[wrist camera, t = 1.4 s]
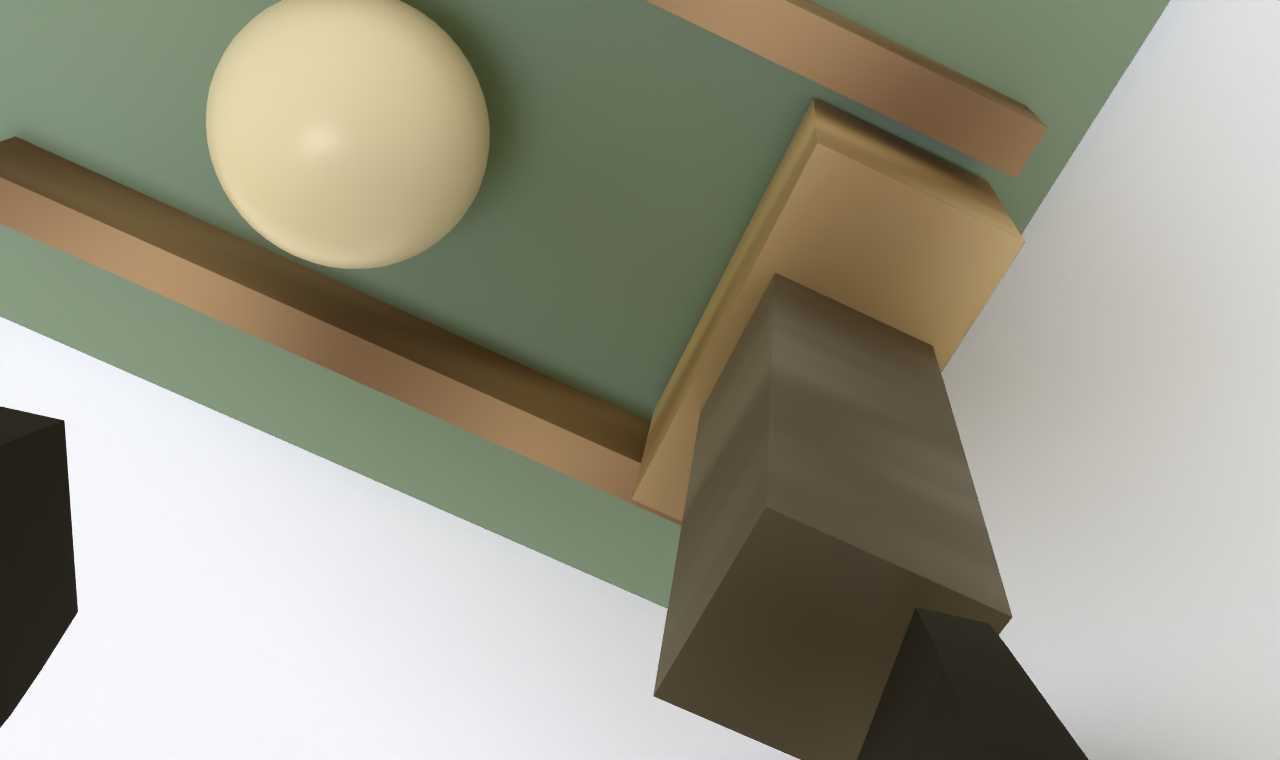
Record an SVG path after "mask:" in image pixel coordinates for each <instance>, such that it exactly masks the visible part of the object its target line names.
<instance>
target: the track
mask: <svg viewBox="0 0 1280 760" xmlns="http://www.w3.org/2000/svg"><path fill="white" fill-rule="evenodd" d="M646 1H648V2H650V3H652V4H654V5H656V6H658V7H660V8H662V9H664V10H666V11H669V12H671V13H673V14H675V15H677V16H679V17H681V18H683V19H685V20H687V21H689V22H691V23H694V24H696V25H698V26H700V27H702V28H704V29H706V30H708V31H710V32H712V33H714V34H716V35H719V36H721V37H723V38H725V39H727V40H729V41H731V42H733V43H735V44H737V45H739V46H741V47H744V48H746V49H748V50H750V51H752V52H754V53H756V54H758V55H760V56H762V57H764V58H766V59H769V60H771V61H773V62H775V63H777V64H779V65H781V66H783V67H785V68H787V69H789V70H791V71H794V72H796V73H798V74H800V75H802V76H804V77H806V78H808V79H810V80H812V81H814V82H816V83H819V84H821V85H823V86H825V87H827V88H829V89H831V90H833V91H835V92H837V93H839V94H841V95H844V96H846V97H848V98H850V99H852V100H854V101H856V102H858V103H860V104H862V105H864V106H867V107H869V108H871V109H873V110H875V111H877V112H879V113H881V114H883V115H885V116H887V117H889V118H892V119H894V120H896V121H898V122H900V123H902V124H904V125H906V126H908V127H910V128H912V129H914V130H917V131H919V132H921V133H923V134H925V135H927V136H929V137H931V138H933V139H935V140H937V141H939V142H942V143H944V144H946V145H948V146H950V147H952V148H954V149H956V150H958V151H960V152H962V153H964V154H967V155H969V156H971V157H973V158H975V159H977V160H979V161H981V162H983V163H985V164H987V165H989V166H992V167H994V168H996V169H998V170H1000V171H1002V172H1004V173H1006V174H1008V175H1010V176H1012V177H1014V178H1017V176H1018V175H1019V173H1020V172H1021V170H1022V168H1023V167H1024V165H1025V164H1026V162H1027V160H1028V159H1029V157H1030V155H1031V154H1032V152H1033V151H1034V149H1035V147H1036V146H1037V144H1038V143H1039V141H1040V139H1041V138H1042V136H1043V134H1044V133H1045V131H1046V130H1047V128H1048V127H1047V126H1046V125H1045V124H1044V123H1043V122H1042V121H1041V120H1040V119H1039V118H1038V117H1037V116H1036V115H1035V114H1034V113H1033V112H1032V111H1031V110H1030V109H1029V108H1028V107H1027V106H1026V105H1024V104H1022V103H1020V102H1018V101H1015V100H1013V99H1011V98H1009V97H1007V96H1005V95H1003V94H1001V93H999V92H997V91H995V90H993V89H991V88H989V87H987V86H985V85H983V84H980V83H978V82H976V81H974V80H972V79H970V78H968V77H966V76H964V75H962V74H960V73H958V72H956V71H954V70H952V69H950V68H948V67H945V66H943V65H941V64H939V63H937V62H935V61H933V60H931V59H929V58H927V57H925V56H923V55H921V54H919V53H917V52H915V51H912V50H910V49H908V48H906V47H904V46H902V45H900V44H898V43H896V42H894V41H892V40H890V39H888V38H886V37H884V36H882V35H880V34H877V33H875V32H873V31H871V30H869V29H867V28H865V27H863V26H861V25H859V24H857V23H855V22H853V21H851V20H849V19H847V18H844V17H842V16H840V15H838V14H836V13H834V12H832V11H830V10H828V9H826V8H824V7H822V6H820V5H818V4H816V3H814V2H812V1H809V0H646ZM0 224H3V225H5V226H7V227H9V228H12V229H14V230H16V231H18V232H21V233H23V234H25V235H27V236H30V237H32V238H34V239H36V240H39V241H41V242H43V243H46V244H48V245H50V246H52V247H55V248H57V249H59V250H61V251H64V252H66V253H68V254H70V255H73V256H75V257H77V258H79V259H82V260H84V261H86V262H88V263H91V264H93V265H95V266H97V267H100V268H102V269H104V270H106V271H109V272H111V273H113V274H115V275H118V276H120V277H122V278H124V279H127V280H129V281H131V282H133V283H136V284H138V285H140V286H142V287H145V288H147V289H149V290H151V291H154V292H156V293H158V294H160V295H163V296H165V297H167V298H169V299H172V300H174V301H176V302H178V303H181V304H183V305H185V306H187V307H190V308H192V309H194V310H196V311H199V312H201V313H203V314H205V315H208V316H210V317H212V318H214V319H217V320H219V321H221V322H223V323H226V324H228V325H230V326H232V327H235V328H237V329H239V330H241V331H244V332H246V333H248V334H250V335H253V336H255V337H257V338H259V339H262V340H264V341H266V342H268V343H271V344H273V345H275V346H277V347H280V348H282V349H284V350H286V351H289V352H291V353H293V354H295V355H298V356H300V357H302V358H304V359H307V360H309V361H311V362H313V363H316V364H318V365H320V366H322V367H325V368H327V369H329V370H331V371H334V372H336V373H338V374H340V375H343V376H345V377H347V378H350V379H352V380H354V381H356V382H359V383H361V384H363V385H365V386H368V387H370V388H372V389H374V390H377V391H379V392H381V393H383V394H386V395H388V396H390V397H392V398H395V399H397V400H399V401H401V402H404V403H406V404H408V405H410V406H413V407H415V408H417V409H419V410H422V411H424V412H426V413H428V414H431V415H433V416H435V417H437V418H440V419H442V420H444V421H446V422H449V423H451V424H453V425H455V426H458V427H460V428H462V429H464V430H467V431H469V432H471V433H473V434H476V435H478V436H480V437H482V438H485V439H487V440H489V441H491V442H494V443H496V444H498V445H500V446H503V447H505V448H507V449H509V450H512V451H514V452H516V453H518V454H521V455H523V456H525V457H527V458H530V459H532V460H534V461H536V462H539V463H541V464H543V465H545V466H548V467H550V468H552V469H554V470H557V471H559V472H561V473H563V474H566V475H568V476H570V477H572V478H575V479H577V480H579V481H581V482H584V483H586V484H588V485H590V486H593V487H595V488H597V489H599V490H602V491H604V492H606V493H608V494H611V495H613V496H615V497H617V498H620V499H622V500H624V501H626V502H629V503H631V504H633V505H635V506H638V507H640V508H642V509H644V510H647V511H649V512H651V513H654V514H656V515H658V516H660V517H663V518H665V519H667V520H669V521H672V522H674V523H676V524H678V525H682V521H680V520H677V519H675V518H673V517H671V516H668V515H666V514H664V513H662V512H659V511H657V510H655V509H653V508H650V507H648V506H646V505H644V504H641V503H639V502H637V501H635V500H632V497H633V493H634V489H635V485H636V481H637V477H638V473H639V469H640V465H641V461H642V457H643V453H644V449H645V445H646V441H647V436H648V432H649V428H650V424H651V422H649V421H647V420H644V419H642V418H640V417H638V416H636V415H633V414H631V413H629V412H627V411H624V410H622V409H620V408H618V407H616V406H613V405H611V404H609V403H607V402H604V401H602V400H600V399H598V398H596V397H593V396H591V395H589V394H587V393H584V392H582V391H580V390H578V389H576V388H573V387H571V386H569V385H567V384H564V383H562V382H560V381H558V380H556V379H553V378H551V377H549V376H547V375H544V374H542V373H540V372H538V371H536V370H533V369H531V368H529V367H527V366H524V365H522V364H520V363H518V362H516V361H513V360H511V359H509V358H507V357H505V356H502V355H500V354H498V353H496V352H493V351H491V350H489V349H487V348H485V347H482V346H480V345H478V344H476V343H473V342H471V341H469V340H467V339H465V338H462V337H460V336H458V335H456V334H453V333H451V332H449V331H447V330H445V329H442V328H440V327H438V326H436V325H433V324H431V323H429V322H427V321H425V320H422V319H420V318H418V317H416V316H413V315H411V314H409V313H407V312H405V311H402V310H400V309H398V308H396V307H393V306H391V305H389V304H387V303H385V302H382V301H380V300H378V299H376V298H374V297H371V296H369V295H367V294H365V293H362V292H360V291H358V290H356V289H354V288H351V287H349V286H347V285H345V284H342V283H340V282H338V281H336V280H334V279H331V278H329V277H327V276H325V275H322V274H320V273H318V272H316V271H314V270H311V269H309V268H307V267H305V266H302V265H300V264H298V263H296V262H294V261H291V260H289V259H287V258H285V257H282V256H280V255H278V254H276V253H274V252H271V251H269V250H267V249H265V248H262V247H260V246H258V245H256V244H254V243H251V242H249V241H247V240H245V239H243V238H240V237H238V236H236V235H234V234H231V233H229V232H227V231H225V230H223V229H220V228H218V227H216V226H214V225H211V224H209V223H207V222H205V221H203V220H200V219H198V218H196V217H194V216H191V215H189V214H187V213H185V212H183V211H180V210H178V209H176V208H174V207H171V206H169V205H167V204H165V203H163V202H160V201H158V200H156V199H154V198H151V197H149V196H147V195H145V194H143V193H140V192H138V191H136V190H134V189H131V188H129V187H127V186H125V185H123V184H120V183H118V182H116V181H114V180H112V179H109V178H107V177H105V176H103V175H100V174H98V173H96V172H94V171H92V170H89V169H87V168H85V167H83V166H80V165H78V164H76V163H74V162H72V161H69V160H67V159H65V158H63V157H60V156H58V155H56V154H54V153H52V152H49V151H47V150H45V149H43V148H40V147H38V146H36V145H34V144H32V143H29V142H27V141H25V140H23V139H20V138H18V137H16V136H15V137H12V138H9V139H6V140H3V141H1V142H0Z"/></svg>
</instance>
